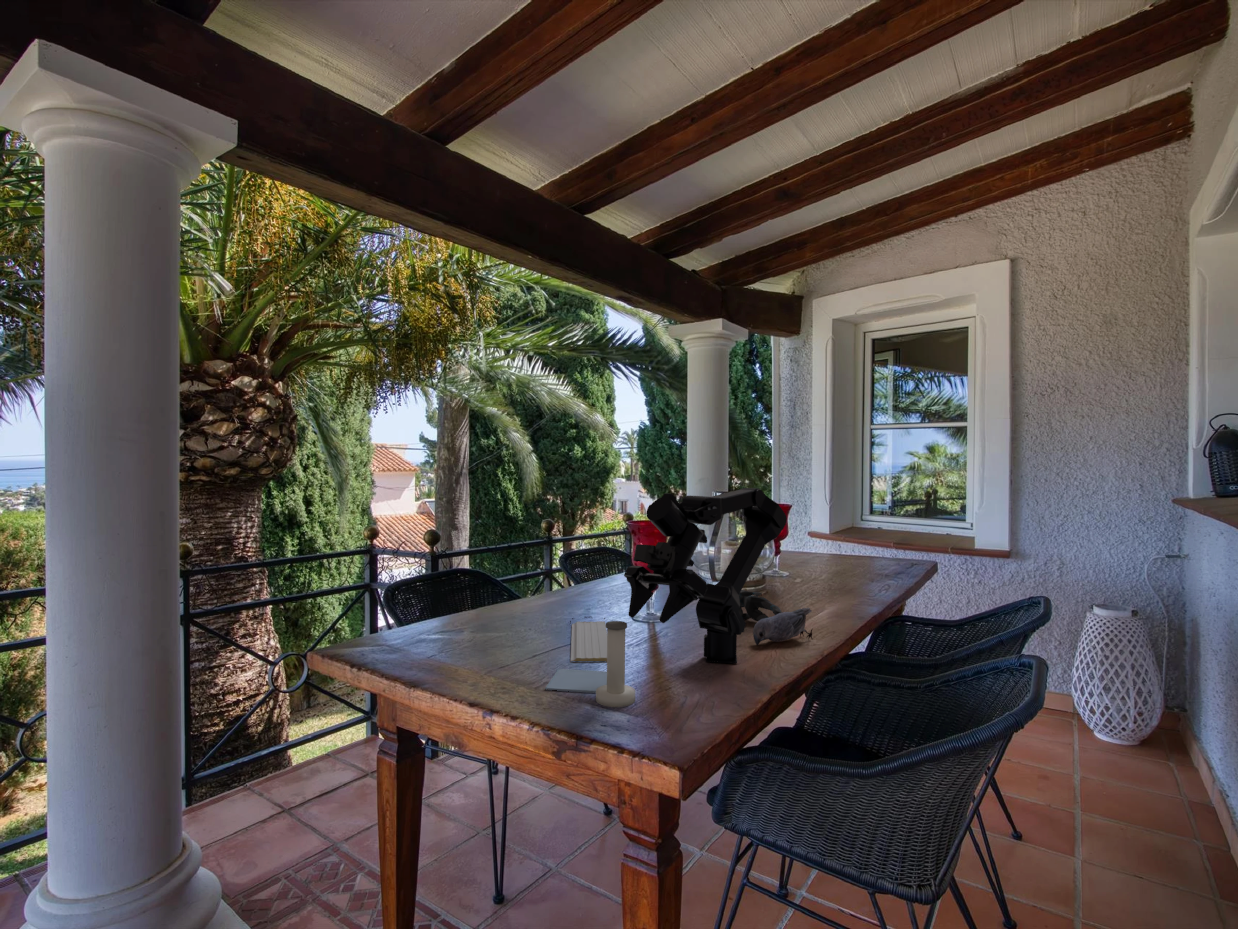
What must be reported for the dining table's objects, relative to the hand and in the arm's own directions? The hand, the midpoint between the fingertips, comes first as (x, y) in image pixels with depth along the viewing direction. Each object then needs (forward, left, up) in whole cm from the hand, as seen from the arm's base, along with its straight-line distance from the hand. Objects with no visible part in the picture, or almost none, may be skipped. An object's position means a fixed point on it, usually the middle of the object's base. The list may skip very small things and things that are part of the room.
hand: (645, 619), depth 124 cm
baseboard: (+16, -27, -13) cm, 34 cm away
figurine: (-25, -53, -13) cm, 60 cm away
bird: (-29, -35, -13) cm, 47 cm away
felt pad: (+12, 0, -13) cm, 18 cm away
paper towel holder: (+4, +8, -13) cm, 16 cm away
